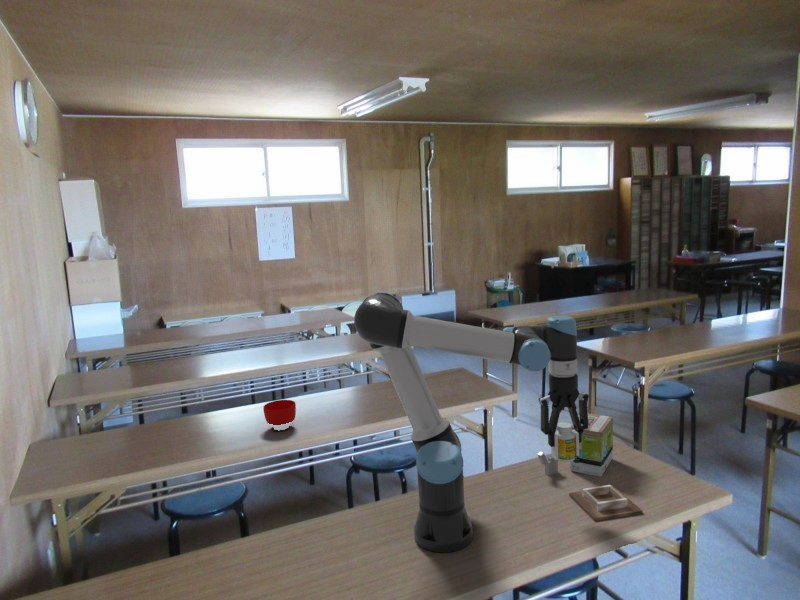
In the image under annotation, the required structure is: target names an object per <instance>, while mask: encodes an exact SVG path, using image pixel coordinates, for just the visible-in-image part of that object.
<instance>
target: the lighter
mask: <svg viewBox="0 0 800 600" xmlns="http://www.w3.org/2000/svg"><path fill="white" fill-rule="evenodd" d="M536 455H537V457H538V458H539V461H540V463H541V465H544V475H546V476H548V477H549V476H552V475H555V474H557V473H559V460H557V459H555V458H554V457H553V456H552V455H551V456H548V457H546V454H545V453H544V452H543V451H539V452H538V453H537V454H536Z"/></svg>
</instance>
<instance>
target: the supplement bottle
mask: <svg viewBox="0 0 800 600" xmlns="http://www.w3.org/2000/svg"><path fill="white" fill-rule="evenodd" d="M572 425H573V424H572V423H569V422H558V424H557V428H556V432H555V434H556V435H557V436H558V459H557V460H558V462H559V461H560V462H565V463H568V462H569V463H570V461H573V460H574V459H575V434H574V433H573V432H572Z"/></svg>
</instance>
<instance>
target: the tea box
mask: <svg viewBox="0 0 800 600" xmlns="http://www.w3.org/2000/svg"><path fill="white" fill-rule="evenodd" d="M578 417H579V420H580V416H578ZM571 425H572V430H575V429H574V426H573V424H571ZM613 443H614V417H613V416H607V415H602V414H600V415H599V414H595V413H588V429H584V432H583V433H582V441H581V443H579V456H576V455H575V459H574V460H573V461H570V462H569V465H570V468H569V469H570V470H569V471H571V472H574V473H575V472H576V473H580V474H583V475H588V476H589V475H590V476H593V477H602V476H603V474H605V473H604V472H605V471H606V470H607V468H608V466H609V465H610V463H611V461H612V460H613V457H614V456H613V452H614V450H613V448H614V447H613V446H614V445H613Z"/></svg>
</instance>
